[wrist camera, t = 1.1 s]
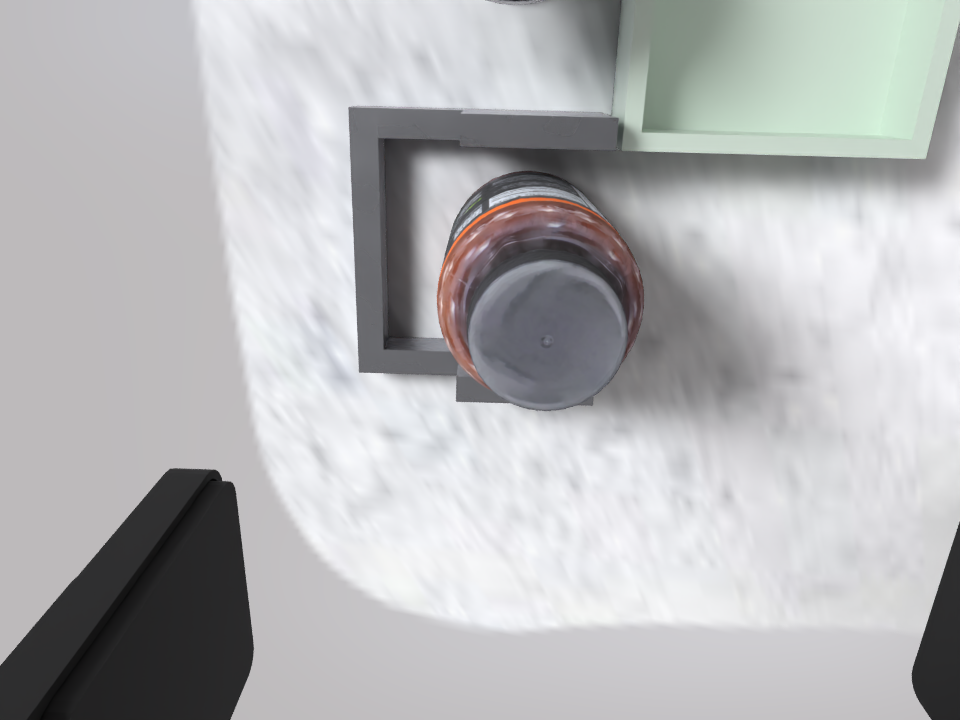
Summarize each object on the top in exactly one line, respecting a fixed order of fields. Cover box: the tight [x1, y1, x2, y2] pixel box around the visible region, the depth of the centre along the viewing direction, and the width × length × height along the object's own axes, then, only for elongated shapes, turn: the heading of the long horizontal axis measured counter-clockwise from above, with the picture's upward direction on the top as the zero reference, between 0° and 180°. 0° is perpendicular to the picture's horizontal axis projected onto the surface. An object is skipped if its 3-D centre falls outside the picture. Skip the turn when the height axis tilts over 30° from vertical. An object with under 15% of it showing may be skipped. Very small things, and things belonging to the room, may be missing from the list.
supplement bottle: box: [437, 171, 644, 411], centre depth 23 cm, size 6×6×11 cm
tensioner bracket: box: [349, 106, 619, 406], centre depth 26 cm, size 9×10×4 cm
